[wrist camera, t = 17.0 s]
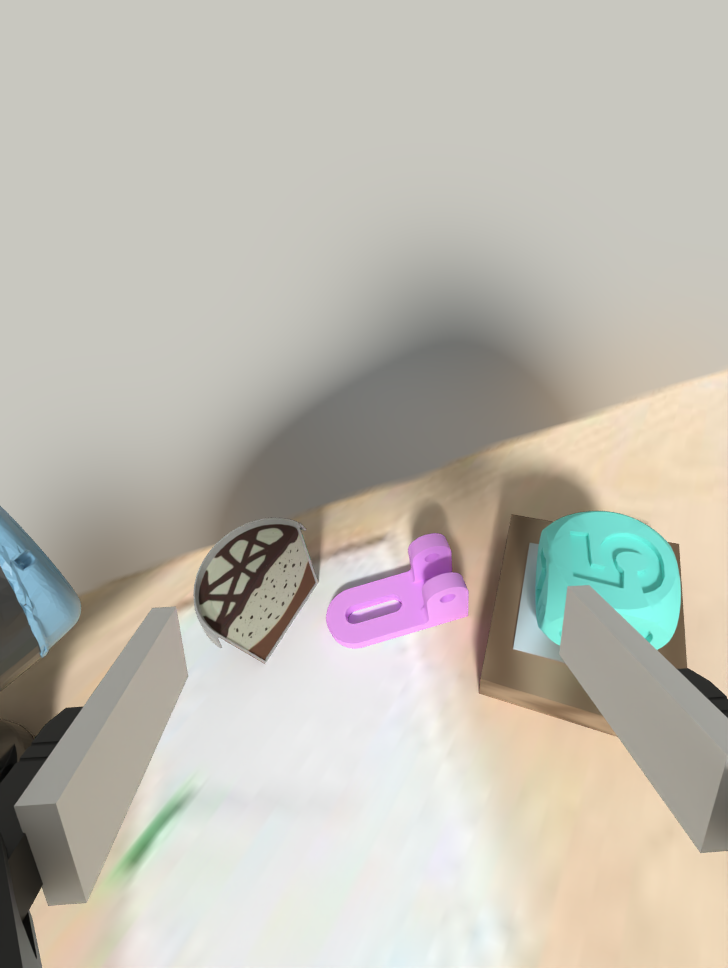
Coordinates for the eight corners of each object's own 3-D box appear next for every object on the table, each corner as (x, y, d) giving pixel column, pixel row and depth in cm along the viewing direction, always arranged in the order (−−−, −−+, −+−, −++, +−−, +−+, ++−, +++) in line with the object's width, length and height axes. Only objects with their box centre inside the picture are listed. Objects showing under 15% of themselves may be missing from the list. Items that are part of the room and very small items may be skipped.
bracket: (447, 566, 46) (445, 528, 41) (467, 616, 43) (468, 582, 37) (325, 602, 46) (307, 569, 41) (335, 656, 42) (317, 627, 37)
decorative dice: (534, 558, 40) (547, 505, 34) (634, 568, 38) (667, 513, 32) (535, 647, 36) (551, 604, 29) (650, 664, 33) (692, 621, 27)
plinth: (479, 693, 38) (480, 677, 35) (508, 536, 47) (512, 512, 44) (670, 753, 33) (693, 741, 30) (663, 566, 42) (680, 542, 39)
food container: (281, 550, 51) (249, 495, 43) (326, 570, 48) (300, 516, 40) (208, 649, 45) (156, 606, 37) (255, 678, 42) (209, 639, 34)
